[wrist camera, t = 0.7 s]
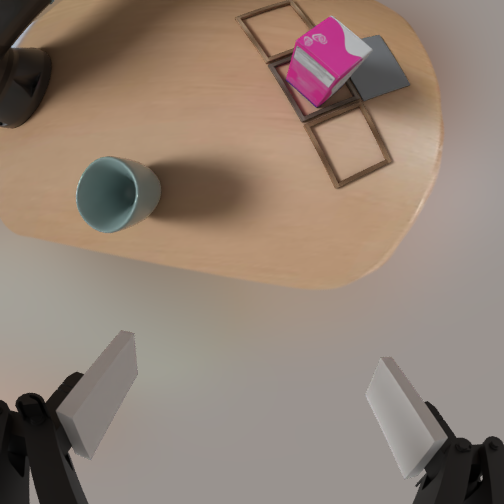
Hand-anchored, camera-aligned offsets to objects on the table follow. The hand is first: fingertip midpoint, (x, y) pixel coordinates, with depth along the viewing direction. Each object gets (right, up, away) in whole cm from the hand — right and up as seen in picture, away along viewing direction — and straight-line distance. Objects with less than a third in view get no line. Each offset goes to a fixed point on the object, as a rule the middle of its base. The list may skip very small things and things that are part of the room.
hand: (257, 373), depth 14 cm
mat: (+16, +32, +17) cm, 40 cm away
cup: (-15, +14, +22) cm, 30 cm away
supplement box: (+8, +28, +18) cm, 35 cm away
